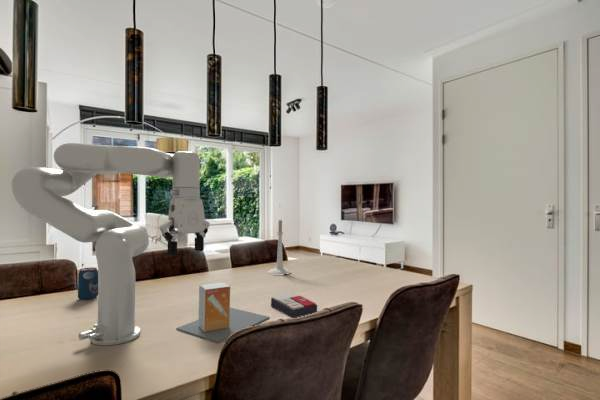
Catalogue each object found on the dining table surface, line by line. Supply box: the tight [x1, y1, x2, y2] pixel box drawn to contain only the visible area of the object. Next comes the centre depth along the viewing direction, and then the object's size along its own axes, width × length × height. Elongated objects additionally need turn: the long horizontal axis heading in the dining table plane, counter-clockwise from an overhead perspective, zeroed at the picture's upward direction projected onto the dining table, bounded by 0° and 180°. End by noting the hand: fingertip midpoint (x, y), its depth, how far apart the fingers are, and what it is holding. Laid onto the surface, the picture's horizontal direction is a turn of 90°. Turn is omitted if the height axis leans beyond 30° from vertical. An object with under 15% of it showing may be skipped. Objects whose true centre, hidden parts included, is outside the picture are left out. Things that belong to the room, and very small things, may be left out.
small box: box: [198, 282, 231, 332], centre depth 105 cm, size 8×6×13 cm
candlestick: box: [267, 219, 292, 275], centre depth 187 cm, size 13×13×30 cm
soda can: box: [77, 267, 98, 302], centre depth 134 cm, size 7×7×12 cm
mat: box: [175, 307, 270, 344], centre depth 109 cm, size 24×18×1 cm
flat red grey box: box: [270, 292, 318, 318], centre depth 125 cm, size 11×4×15 cm
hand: (186, 253), depth 98 cm, fingers open, 9 cm apart
